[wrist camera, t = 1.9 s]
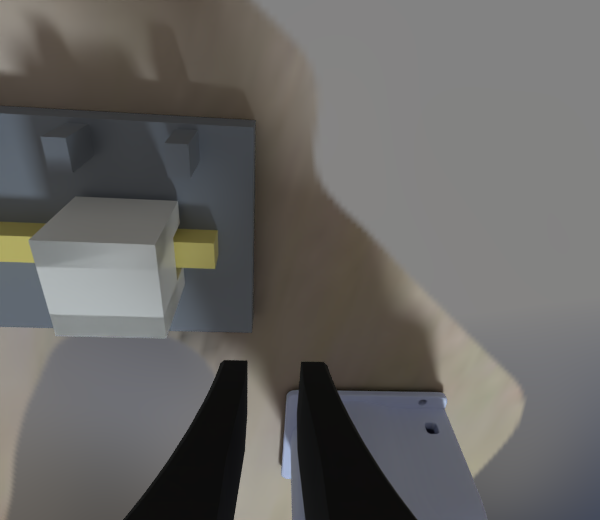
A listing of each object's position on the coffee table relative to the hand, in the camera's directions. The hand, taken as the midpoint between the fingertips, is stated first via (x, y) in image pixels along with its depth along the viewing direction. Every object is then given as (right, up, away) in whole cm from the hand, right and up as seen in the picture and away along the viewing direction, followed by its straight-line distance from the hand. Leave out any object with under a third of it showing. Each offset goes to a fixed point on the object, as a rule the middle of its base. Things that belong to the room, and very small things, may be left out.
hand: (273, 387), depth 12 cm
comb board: (-10, +5, +7) cm, 13 cm away
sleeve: (-6, +4, +7) cm, 10 cm away
